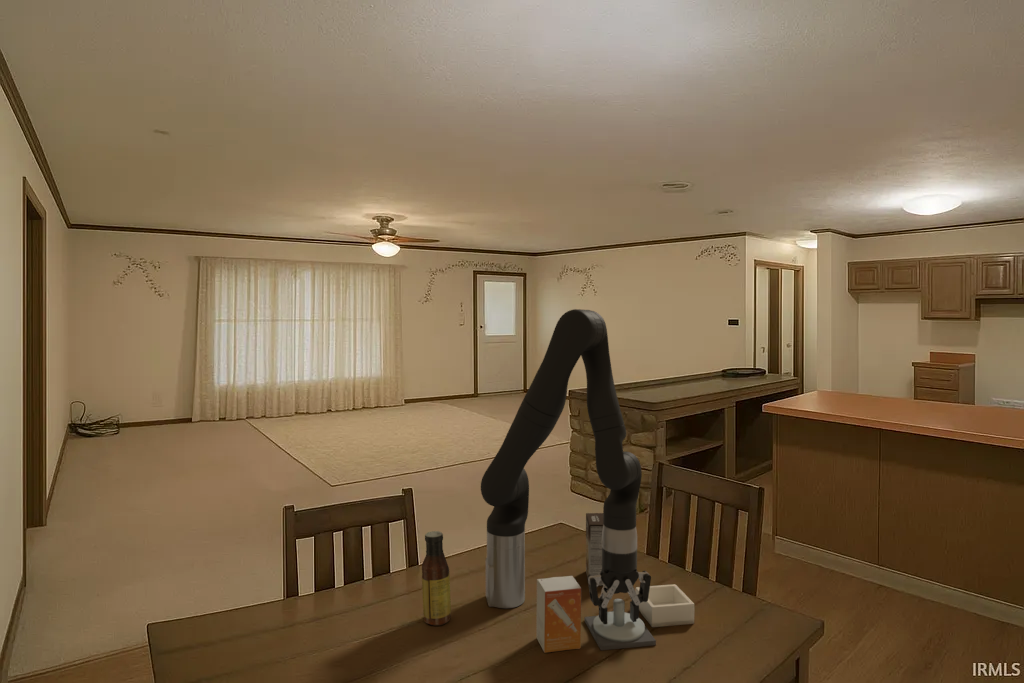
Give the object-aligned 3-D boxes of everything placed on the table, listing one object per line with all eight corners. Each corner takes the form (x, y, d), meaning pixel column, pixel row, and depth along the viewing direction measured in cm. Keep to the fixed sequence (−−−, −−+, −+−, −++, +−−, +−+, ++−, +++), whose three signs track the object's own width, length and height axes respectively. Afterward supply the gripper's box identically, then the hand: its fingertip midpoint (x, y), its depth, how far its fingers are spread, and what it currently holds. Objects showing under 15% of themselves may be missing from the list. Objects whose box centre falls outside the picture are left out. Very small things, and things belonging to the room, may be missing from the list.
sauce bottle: (456, 616, 138) (455, 531, 137) (441, 629, 133) (441, 540, 132) (431, 610, 141) (431, 527, 140) (416, 623, 135) (416, 536, 134)
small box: (544, 654, 123) (544, 591, 123) (535, 638, 129) (536, 578, 129) (581, 649, 125) (582, 587, 124) (571, 633, 131) (572, 574, 131)
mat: (600, 650, 124) (600, 645, 124) (584, 621, 136) (584, 616, 136) (655, 645, 126) (655, 640, 126) (635, 616, 138) (635, 612, 138)
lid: (602, 644, 125) (602, 615, 125) (587, 618, 136) (587, 591, 135) (652, 639, 127) (653, 611, 126) (633, 613, 138) (633, 587, 137)
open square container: (651, 627, 134) (652, 607, 133) (635, 605, 143) (635, 587, 143) (694, 623, 135) (694, 603, 135) (675, 602, 145) (675, 584, 145)
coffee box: (585, 570, 163) (585, 512, 162) (608, 570, 163) (609, 512, 162) (588, 585, 154) (588, 524, 153) (613, 586, 154) (614, 524, 153)
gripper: (592, 554, 126) (592, 633, 126) (657, 550, 128) (657, 627, 129) (582, 541, 133) (582, 615, 134) (644, 537, 135) (643, 610, 136)
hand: (618, 621), depth 131 cm, fingers open, 6 cm apart
